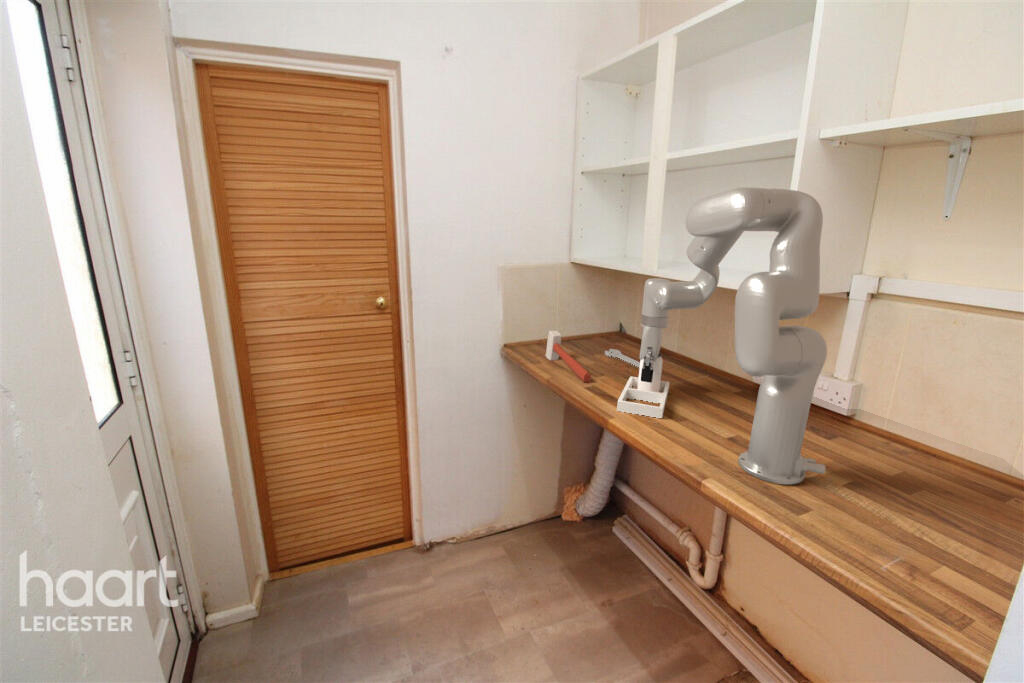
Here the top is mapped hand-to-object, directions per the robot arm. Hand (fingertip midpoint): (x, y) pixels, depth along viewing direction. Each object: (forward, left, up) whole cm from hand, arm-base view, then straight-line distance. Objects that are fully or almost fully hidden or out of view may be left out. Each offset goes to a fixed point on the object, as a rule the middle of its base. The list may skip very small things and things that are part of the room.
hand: (648, 376), depth 140 cm
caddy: (0, +6, -6) cm, 8 cm away
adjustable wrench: (+11, -32, -6) cm, 34 cm away
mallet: (+29, -13, -6) cm, 32 cm away
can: (0, -2, -6) cm, 6 cm away
